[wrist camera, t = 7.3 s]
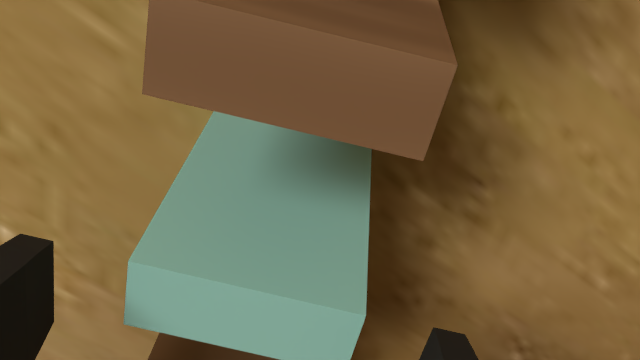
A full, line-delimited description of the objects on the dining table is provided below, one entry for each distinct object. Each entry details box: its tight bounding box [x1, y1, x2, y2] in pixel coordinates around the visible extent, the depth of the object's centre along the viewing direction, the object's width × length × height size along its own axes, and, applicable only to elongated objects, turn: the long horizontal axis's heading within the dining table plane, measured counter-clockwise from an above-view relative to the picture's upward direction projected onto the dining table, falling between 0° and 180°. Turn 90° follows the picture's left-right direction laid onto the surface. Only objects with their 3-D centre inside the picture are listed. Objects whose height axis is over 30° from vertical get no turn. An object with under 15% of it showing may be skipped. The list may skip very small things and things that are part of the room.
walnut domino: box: [142, 0, 458, 161], centre depth 12 cm, size 2×4×7 cm, turn 78°
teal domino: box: [124, 111, 372, 360], centre depth 14 cm, size 2×4×7 cm, turn 77°
